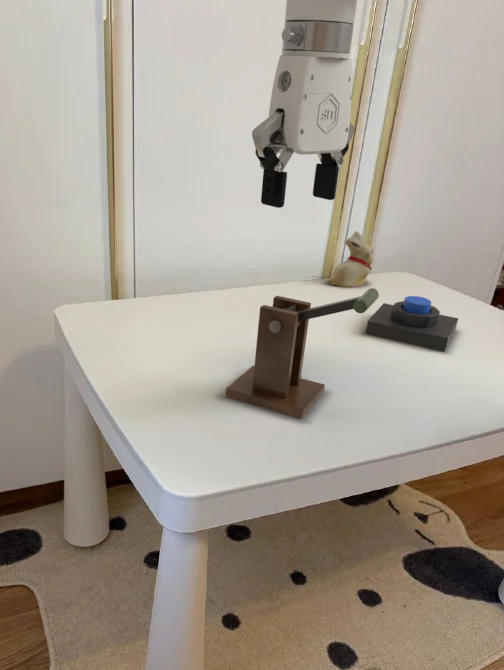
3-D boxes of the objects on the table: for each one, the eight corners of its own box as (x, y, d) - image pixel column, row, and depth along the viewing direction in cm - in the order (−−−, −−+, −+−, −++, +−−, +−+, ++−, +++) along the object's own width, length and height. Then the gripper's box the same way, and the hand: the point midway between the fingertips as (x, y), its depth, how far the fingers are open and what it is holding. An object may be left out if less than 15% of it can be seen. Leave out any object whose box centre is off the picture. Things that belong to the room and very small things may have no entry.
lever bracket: (324, 392, 80) (338, 304, 74) (301, 419, 74) (315, 324, 68) (252, 373, 84) (260, 287, 78) (225, 396, 78) (232, 305, 72)
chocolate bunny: (371, 289, 119) (381, 235, 114) (329, 285, 119) (337, 232, 115) (368, 280, 124) (377, 228, 119) (327, 277, 124) (335, 225, 119)
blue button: (431, 309, 99) (433, 299, 98) (426, 317, 96) (428, 306, 95) (405, 304, 101) (407, 294, 100) (399, 311, 98) (402, 301, 97)
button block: (455, 331, 102) (461, 307, 100) (444, 351, 94) (450, 326, 92) (381, 315, 106) (385, 292, 104) (365, 334, 98) (369, 309, 97)
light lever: (381, 303, 70) (375, 282, 70) (369, 316, 66) (363, 294, 66) (284, 325, 77) (278, 306, 76) (268, 338, 73) (262, 318, 73)
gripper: (291, 38, 62) (274, 215, 70) (389, 47, 73) (364, 200, 81) (237, 37, 67) (227, 203, 75) (337, 46, 78) (318, 190, 86)
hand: (298, 201), depth 78 cm, fingers open, 9 cm apart
